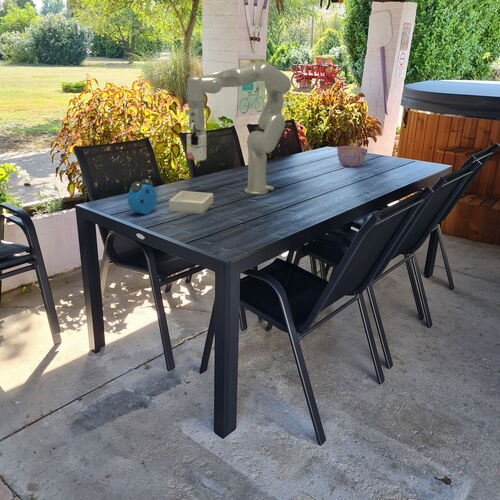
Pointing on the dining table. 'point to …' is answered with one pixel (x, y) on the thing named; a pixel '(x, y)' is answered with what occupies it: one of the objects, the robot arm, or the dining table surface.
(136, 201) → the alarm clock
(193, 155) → the ink cartridge box
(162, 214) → the dining table surface
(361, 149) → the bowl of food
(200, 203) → the cream square tray
